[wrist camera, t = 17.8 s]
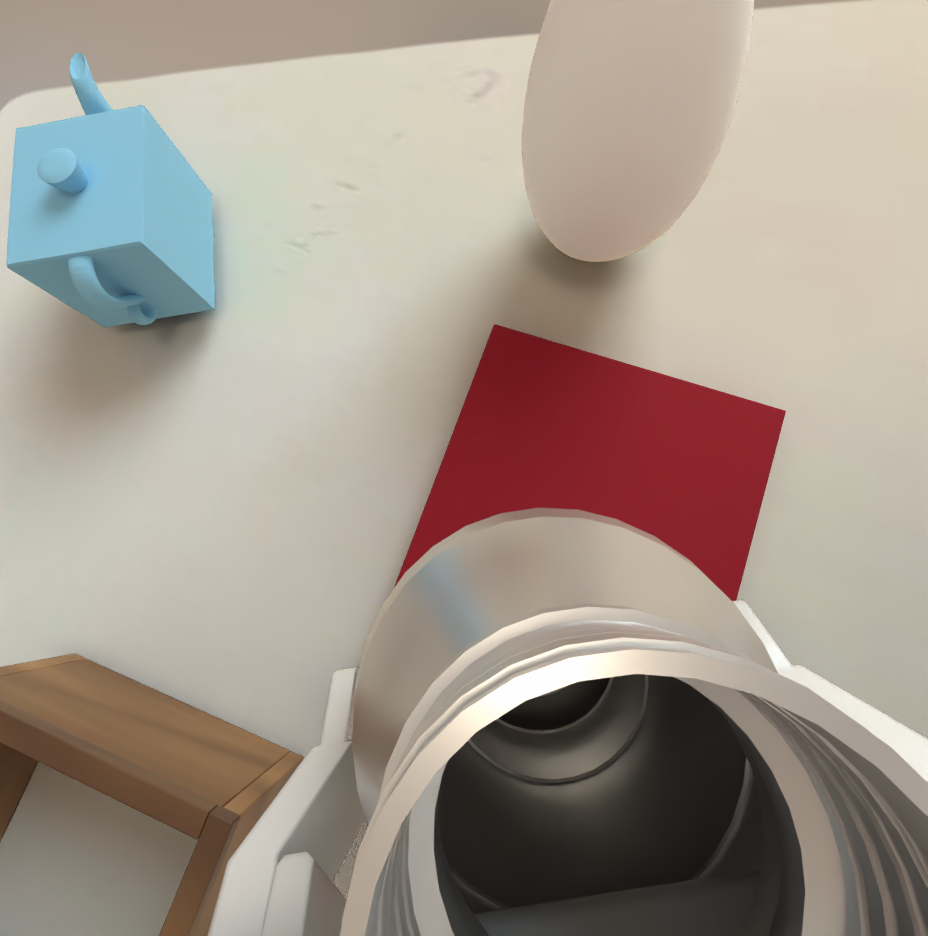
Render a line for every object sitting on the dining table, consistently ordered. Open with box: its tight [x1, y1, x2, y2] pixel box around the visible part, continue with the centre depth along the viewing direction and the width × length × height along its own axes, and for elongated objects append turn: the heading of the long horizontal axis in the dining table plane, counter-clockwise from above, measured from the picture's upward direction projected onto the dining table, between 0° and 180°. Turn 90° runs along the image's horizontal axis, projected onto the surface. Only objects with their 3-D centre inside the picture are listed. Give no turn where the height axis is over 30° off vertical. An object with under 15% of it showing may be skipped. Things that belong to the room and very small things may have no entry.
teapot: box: [7, 53, 216, 327], centre depth 25 cm, size 12×6×8 cm, turn 7°
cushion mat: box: [394, 324, 785, 601], centre depth 23 cm, size 20×14×1 cm
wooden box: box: [0, 654, 303, 936], centre depth 19 cm, size 13×13×6 cm
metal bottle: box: [340, 508, 928, 936], centre depth 12 cm, size 6×7×20 cm
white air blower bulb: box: [522, 0, 754, 262], centre depth 18 cm, size 8×8×18 cm
